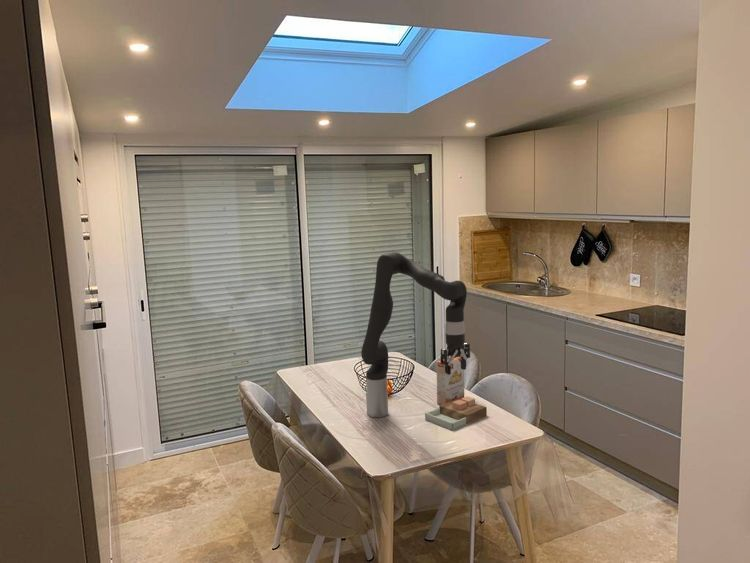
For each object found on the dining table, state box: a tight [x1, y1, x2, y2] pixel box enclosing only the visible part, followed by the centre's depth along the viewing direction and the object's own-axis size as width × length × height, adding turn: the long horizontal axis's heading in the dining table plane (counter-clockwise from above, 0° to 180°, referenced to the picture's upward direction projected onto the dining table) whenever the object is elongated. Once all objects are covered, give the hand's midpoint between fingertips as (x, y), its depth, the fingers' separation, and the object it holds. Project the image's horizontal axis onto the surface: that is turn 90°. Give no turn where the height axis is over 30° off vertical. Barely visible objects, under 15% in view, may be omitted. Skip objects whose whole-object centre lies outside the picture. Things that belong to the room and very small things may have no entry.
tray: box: [424, 407, 467, 431], centre depth 233 cm, size 16×9×3 cm, turn 39°
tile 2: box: [461, 396, 476, 407], centre depth 242 cm, size 4×4×2 cm
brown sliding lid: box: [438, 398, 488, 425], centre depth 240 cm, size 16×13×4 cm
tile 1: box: [452, 400, 467, 410], centre depth 238 cm, size 4×4×2 cm
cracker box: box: [435, 357, 465, 405], centre depth 256 cm, size 14×6×21 cm, turn 132°
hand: (455, 371), depth 216 cm, fingers open, 8 cm apart
